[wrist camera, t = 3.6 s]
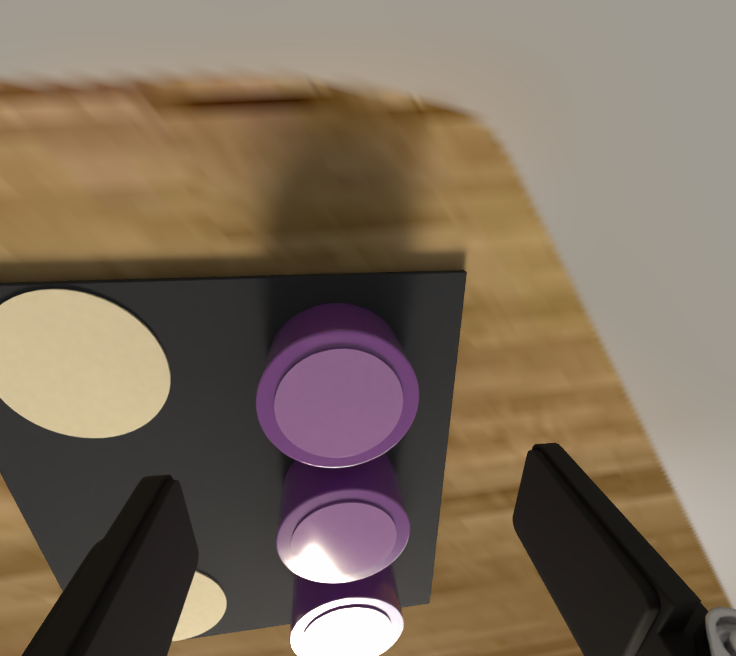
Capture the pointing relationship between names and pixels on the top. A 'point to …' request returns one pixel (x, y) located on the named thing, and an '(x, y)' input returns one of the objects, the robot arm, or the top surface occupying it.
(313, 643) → the dish
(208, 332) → the mat
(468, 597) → the top surface
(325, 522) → the dish
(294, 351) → the purple short cylinder
